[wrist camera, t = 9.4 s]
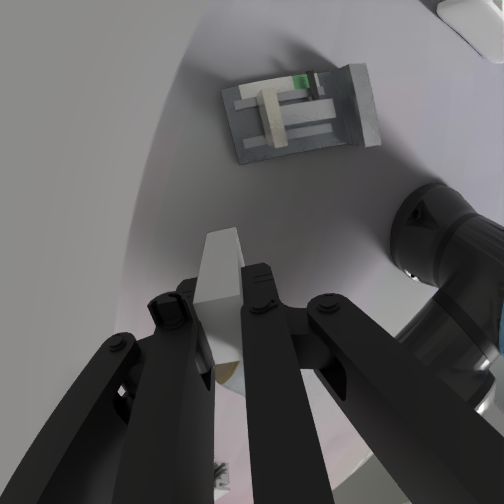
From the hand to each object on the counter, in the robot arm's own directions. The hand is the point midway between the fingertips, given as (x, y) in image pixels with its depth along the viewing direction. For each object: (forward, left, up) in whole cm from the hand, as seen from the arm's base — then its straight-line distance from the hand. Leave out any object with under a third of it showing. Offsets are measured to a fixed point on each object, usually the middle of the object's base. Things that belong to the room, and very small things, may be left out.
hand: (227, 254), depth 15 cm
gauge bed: (-9, -6, -20) cm, 23 cm away
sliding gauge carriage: (-9, -7, -19) cm, 22 cm away
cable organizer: (-43, -22, -21) cm, 52 cm away
